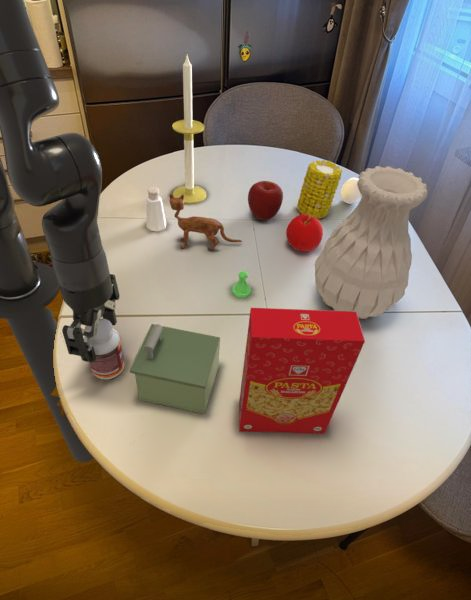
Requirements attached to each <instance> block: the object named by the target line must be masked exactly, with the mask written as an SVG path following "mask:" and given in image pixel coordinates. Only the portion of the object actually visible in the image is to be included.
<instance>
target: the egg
mask: <svg viewBox="0 0 471 600" xmlns="http://www.w3.org/2000/svg"><path fill="white" fill-rule="evenodd" d="M357 182H358V178H357V177H351V178H349V179H347V180H346V181H345V182H344V183H343V185H342V186H341V187H340V188H341V189H340V198H341V199H342V201H343V202H344V203H346V204H348V205H352V204H356V203H357V202H360V201H361V198H362V195H361V193H360V191H359V189H358V186H357Z"/></svg>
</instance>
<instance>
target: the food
mask: <svg viewBox="0 0 471 600" xmlns="http://www.w3.org/2000/svg"><path fill="white" fill-rule="evenodd" d="M342 174H343V170H342V168H341V167H340V166H339V165H337V164H336V163H335V162H334V163H333V162H332V161H331V160H326V159H323V160H319V159H317V160H315V161H311V162H310V163H309V164H308V167H307V170H306V173H305V176H304V179H303V183H302V186H301V189H300V193H299V198H298V199H297V205H296V206H297V207H296V210H297V211H298V212H299V214H305V215H310V216H313V217H315V218H317V219H318V220H320V219H324V218H326V217H327V216H328V215H329V212H330V210H331V207H332V203H333V201H334V199H335V197H336V193H337V189H338V186H339V184H340V181H341V178H342Z"/></svg>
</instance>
